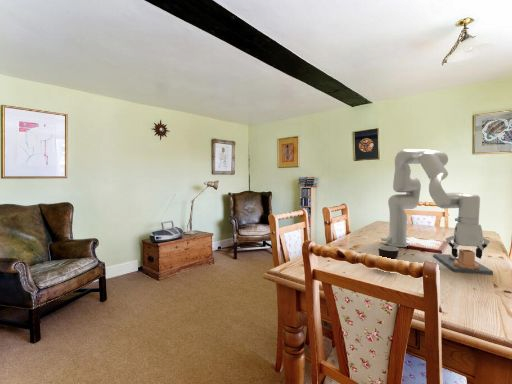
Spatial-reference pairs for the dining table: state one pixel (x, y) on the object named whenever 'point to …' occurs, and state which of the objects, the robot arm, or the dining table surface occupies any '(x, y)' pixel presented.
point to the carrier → (449, 262)
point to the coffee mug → (388, 252)
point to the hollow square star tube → (466, 259)
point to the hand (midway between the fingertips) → (466, 257)
